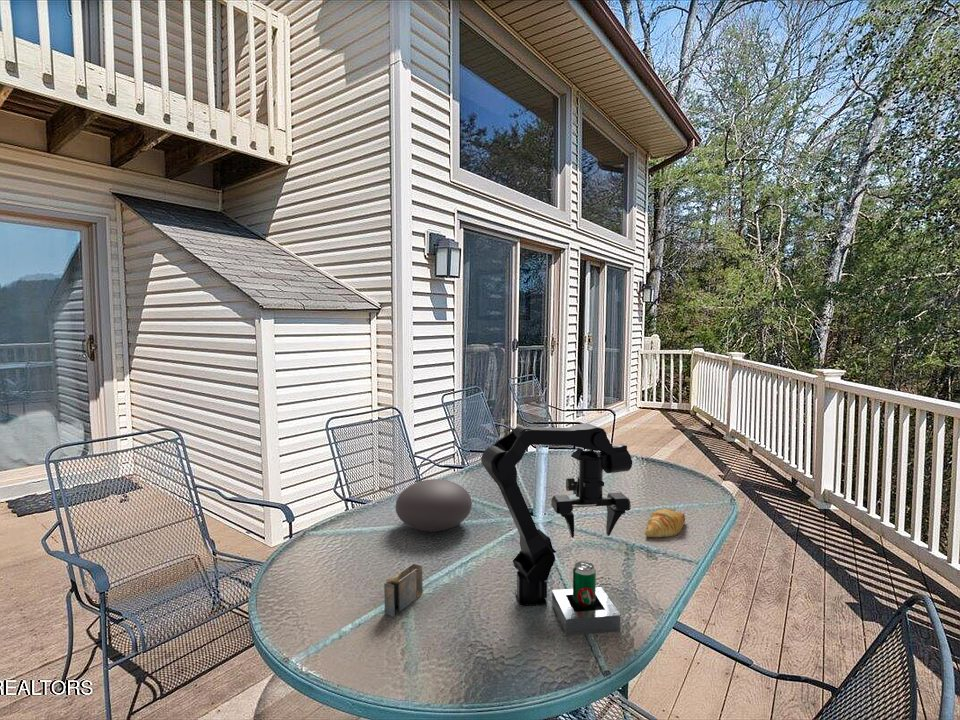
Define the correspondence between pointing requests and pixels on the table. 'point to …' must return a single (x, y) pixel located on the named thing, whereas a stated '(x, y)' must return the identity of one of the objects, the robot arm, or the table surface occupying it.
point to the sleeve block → (585, 613)
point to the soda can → (584, 586)
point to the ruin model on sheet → (403, 588)
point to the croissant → (664, 523)
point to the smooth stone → (433, 505)
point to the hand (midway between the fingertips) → (590, 536)
